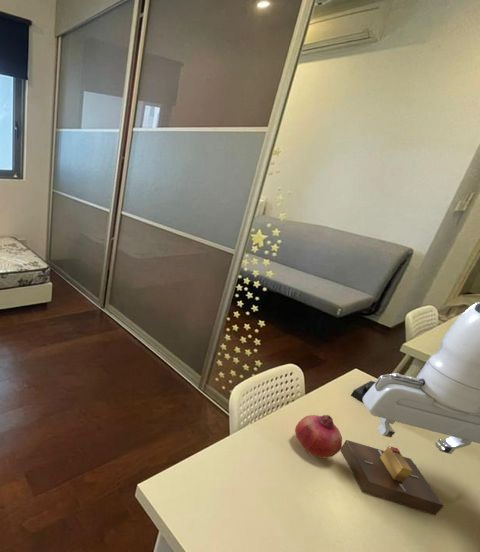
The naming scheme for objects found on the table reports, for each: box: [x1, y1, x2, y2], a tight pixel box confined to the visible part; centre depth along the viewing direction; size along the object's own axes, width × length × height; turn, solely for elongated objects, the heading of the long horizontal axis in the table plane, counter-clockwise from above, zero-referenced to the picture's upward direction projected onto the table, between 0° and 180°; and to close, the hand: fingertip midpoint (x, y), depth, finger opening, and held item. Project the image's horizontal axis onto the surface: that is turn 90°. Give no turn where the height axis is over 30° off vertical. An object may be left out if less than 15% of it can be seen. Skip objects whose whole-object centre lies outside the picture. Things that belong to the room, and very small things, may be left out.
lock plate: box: [340, 439, 445, 516], centre depth 65 cm, size 12×10×3 cm
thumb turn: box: [380, 445, 412, 482], centre depth 64 cm, size 5×2×4 cm, turn 163°
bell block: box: [350, 380, 376, 405], centre depth 87 cm, size 10×8×4 cm
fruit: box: [294, 414, 343, 459], centre depth 68 cm, size 8×8×10 cm
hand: (412, 441), depth 61 cm, fingers open, 8 cm apart
